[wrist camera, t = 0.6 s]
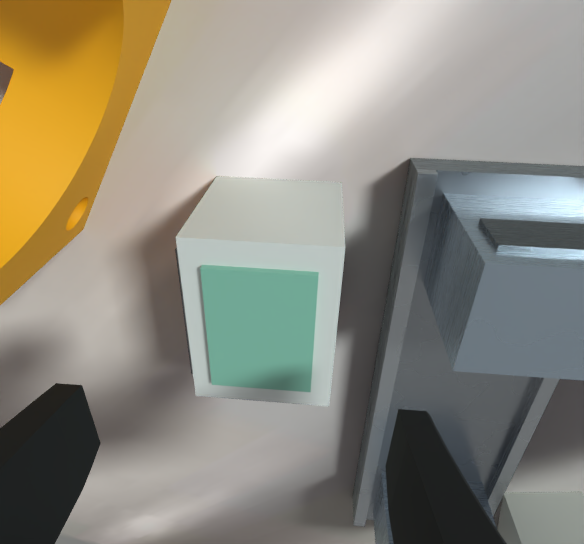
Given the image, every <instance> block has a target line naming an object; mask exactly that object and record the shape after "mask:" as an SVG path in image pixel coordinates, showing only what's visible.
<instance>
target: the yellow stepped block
mask: <svg viewBox="0 0 584 544" xmlns="http://www.w3.org/2000/svg"><path fill="white" fill-rule="evenodd" d="M170 3H171V0H0V62H2V63H4V64H6V65H7V66H9V67H11V68H12V69H14V71H13V74H12V77H11V80H10V83H9V85H8V88H7V91H6V93H5V95H4V98H3V100H2V102H1V105H0V305H1V304H2V303H3V302H4V301H5V300H7V299H8V298H9V297H10V296H11V295H12V294H13V293H14V292H15V291H16V290H17V289H19V288H20V287H21V286H22V285H23V284H24V283H25V282H26V281H27V280H28V279H29V278H31V277H32V276H33V275H34V274H35V273H36V272H37V271H38V270H39V269H40V268H42V267H43V266H44V265H45V264H46V263H47V262H48V261H49V260H50V259H51V258H52V257H54V256H55V255H56V254H57V253H58V252H59V251H60V250H61V249H62V248H63V247H64V246H66V245H67V244H68V243H69V242H70V241H71V240H72V239H73V238H74V237H75V236H76V235H78V234H79V233H80V232H81V231H82V230H83V229H84V226H85V223H86V221H87V218H88V216H89V213H90V210H91V208H92V205H93V203H94V200H95V197H96V195H97V192H98V190H99V187H100V184H101V182H102V179H103V177H104V174H105V171H106V169H107V166H108V164H109V161H110V158H111V156H112V153H113V151H114V148H115V145H116V143H117V140H118V138H119V135H120V132H121V130H122V127H123V125H124V122H125V120H126V117H127V114H128V112H129V109H130V107H131V104H132V101H133V99H134V96H135V94H136V91H137V88H138V86H139V83H140V81H141V78H142V75H143V73H144V70H145V68H146V65H147V62H148V60H149V57H150V55H151V52H152V49H153V47H154V44H155V42H156V39H157V36H158V34H159V31H160V29H161V26H162V23H163V21H164V18H165V16H166V13H167V10H168V8H169V5H170Z"/></svg>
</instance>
